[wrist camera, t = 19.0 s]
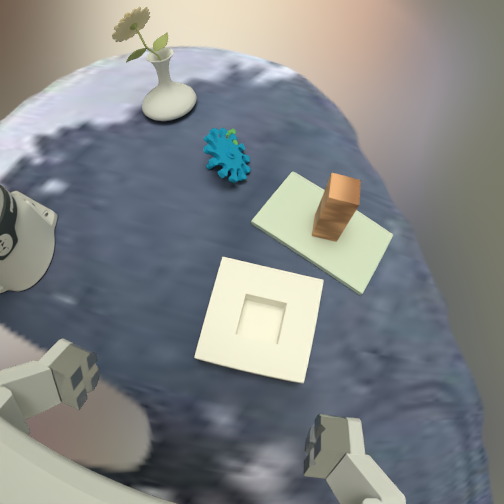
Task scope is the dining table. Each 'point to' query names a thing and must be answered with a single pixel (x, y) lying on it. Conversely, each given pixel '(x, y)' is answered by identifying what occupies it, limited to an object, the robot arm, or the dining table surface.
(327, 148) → the dining table surface
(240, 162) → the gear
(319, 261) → the mat
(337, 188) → the peg
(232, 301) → the socket block
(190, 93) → the flower in vase
